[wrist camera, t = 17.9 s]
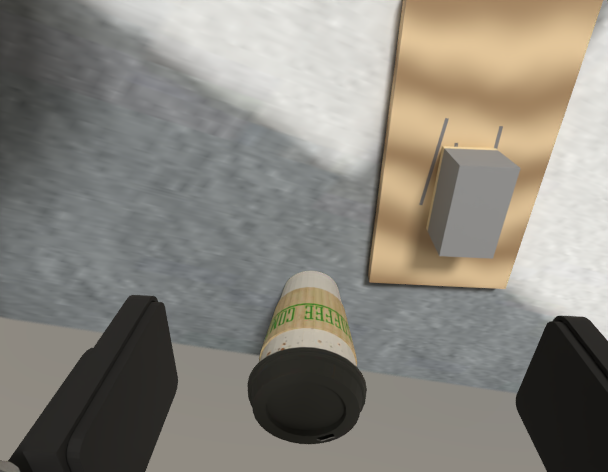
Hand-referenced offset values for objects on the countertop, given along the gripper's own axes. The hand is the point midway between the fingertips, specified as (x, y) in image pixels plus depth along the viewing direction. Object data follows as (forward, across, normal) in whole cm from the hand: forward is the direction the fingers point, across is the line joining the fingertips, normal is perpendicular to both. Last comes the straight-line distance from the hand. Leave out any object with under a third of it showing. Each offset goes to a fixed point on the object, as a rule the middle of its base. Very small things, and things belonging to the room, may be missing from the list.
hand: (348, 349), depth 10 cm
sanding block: (+27, -12, +6) cm, 30 cm away
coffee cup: (+28, +1, +20) cm, 35 cm away
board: (+28, -12, +4) cm, 31 cm away
